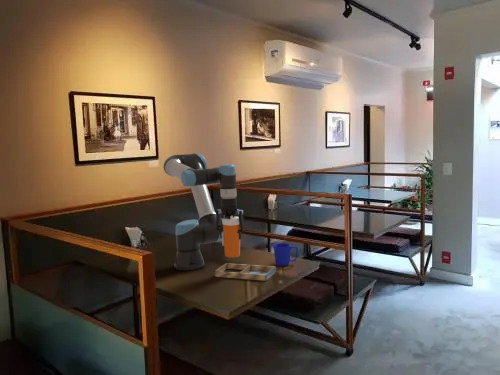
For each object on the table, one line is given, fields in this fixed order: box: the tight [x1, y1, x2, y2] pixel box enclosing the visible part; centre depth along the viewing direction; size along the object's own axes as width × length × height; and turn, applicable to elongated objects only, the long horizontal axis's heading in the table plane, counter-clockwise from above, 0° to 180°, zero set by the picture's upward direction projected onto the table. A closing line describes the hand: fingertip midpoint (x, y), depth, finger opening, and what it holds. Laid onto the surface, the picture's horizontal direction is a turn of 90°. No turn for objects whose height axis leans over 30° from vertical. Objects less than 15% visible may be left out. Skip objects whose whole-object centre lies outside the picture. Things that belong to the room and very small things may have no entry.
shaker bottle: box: [222, 212, 241, 258], centre depth 196 cm, size 9×9×20 cm
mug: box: [273, 242, 299, 267], centre depth 206 cm, size 8×12×10 cm
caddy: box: [213, 262, 277, 282], centre depth 195 cm, size 26×13×2 cm, turn 68°
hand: (231, 245), depth 197 cm, fingers open, 6 cm apart
